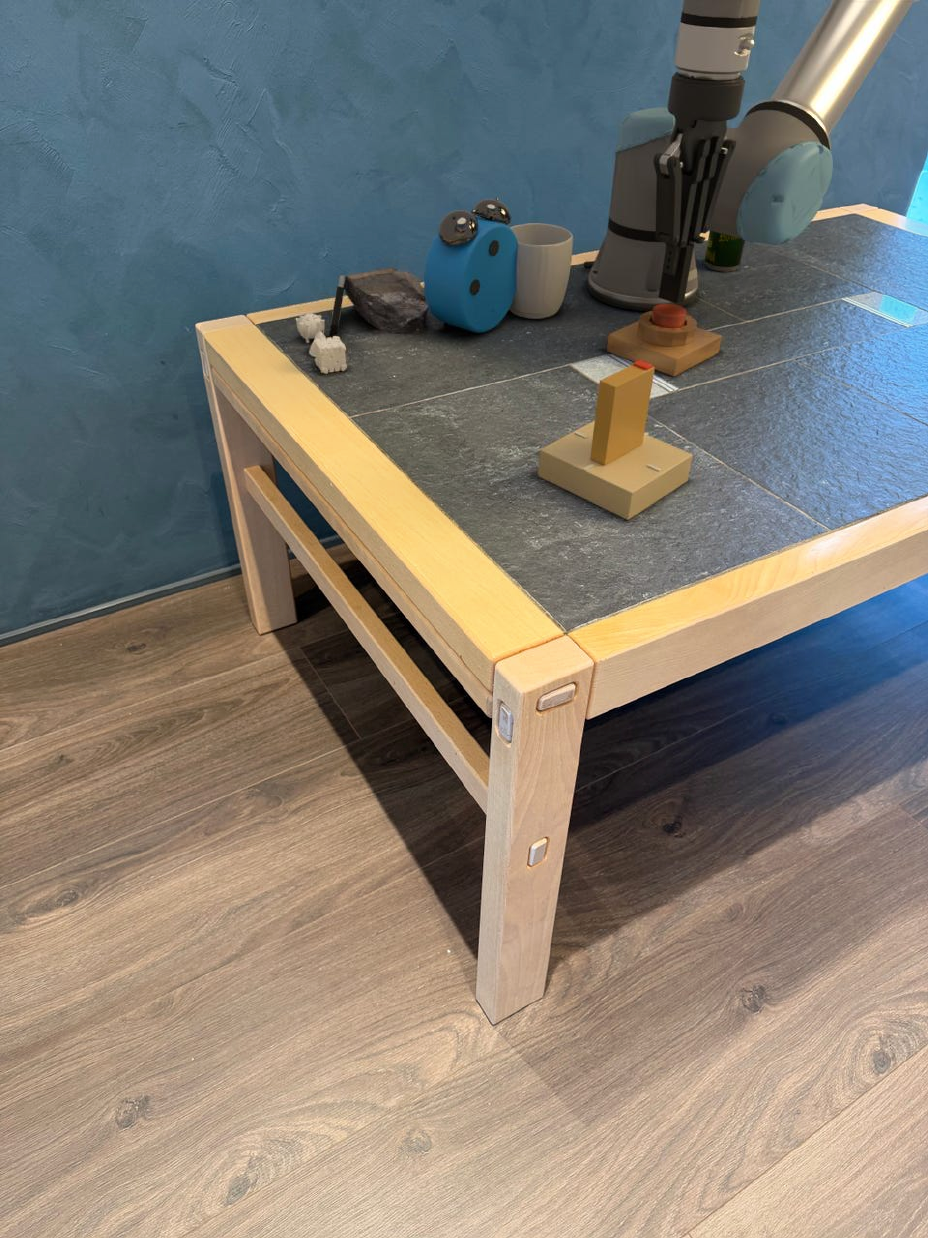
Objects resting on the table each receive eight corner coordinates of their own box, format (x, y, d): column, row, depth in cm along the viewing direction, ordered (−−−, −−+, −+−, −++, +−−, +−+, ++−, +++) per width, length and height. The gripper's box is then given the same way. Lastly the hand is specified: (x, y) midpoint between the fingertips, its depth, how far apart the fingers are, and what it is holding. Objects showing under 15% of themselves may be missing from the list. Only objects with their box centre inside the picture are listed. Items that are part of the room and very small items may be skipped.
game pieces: (348, 371, 107) (346, 345, 105) (321, 375, 106) (319, 349, 104) (321, 331, 116) (319, 307, 113) (295, 335, 115) (293, 310, 112)
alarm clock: (484, 305, 123) (486, 188, 114) (521, 316, 120) (527, 197, 111) (423, 336, 115) (420, 212, 106) (461, 349, 112) (462, 223, 103)
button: (644, 323, 111) (646, 309, 109) (663, 314, 113) (665, 300, 112) (671, 333, 108) (674, 318, 107) (690, 324, 111) (693, 309, 110)
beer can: (731, 259, 140) (748, 175, 132) (744, 271, 136) (763, 185, 128) (698, 260, 139) (713, 176, 132) (711, 272, 135) (727, 186, 128)
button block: (606, 351, 113) (610, 319, 110) (652, 329, 118) (657, 299, 116) (673, 376, 107) (679, 344, 105) (718, 352, 113) (725, 321, 110)
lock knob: (604, 465, 85) (615, 384, 80) (589, 458, 86) (599, 377, 81) (642, 444, 89) (655, 364, 83) (627, 437, 90) (639, 358, 84)
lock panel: (536, 476, 89) (539, 448, 87) (599, 441, 95) (603, 413, 93) (627, 520, 84) (631, 491, 82) (688, 480, 89) (694, 452, 87)
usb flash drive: (338, 326, 112) (330, 324, 112) (333, 354, 117) (326, 352, 117) (346, 275, 116) (339, 273, 116) (342, 303, 121) (334, 302, 120)
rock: (327, 309, 120) (326, 268, 116) (390, 293, 126) (391, 254, 123) (400, 344, 112) (402, 301, 109) (463, 325, 119) (467, 284, 116)
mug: (577, 306, 124) (584, 230, 117) (547, 328, 118) (553, 250, 111) (497, 287, 129) (499, 214, 122) (464, 308, 123) (465, 232, 116)
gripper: (706, 85, 88) (666, 322, 103) (773, 70, 95) (727, 293, 110) (642, 74, 92) (613, 304, 107) (712, 60, 99) (675, 278, 114)
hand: (671, 298), depth 109 cm, fingers closed
